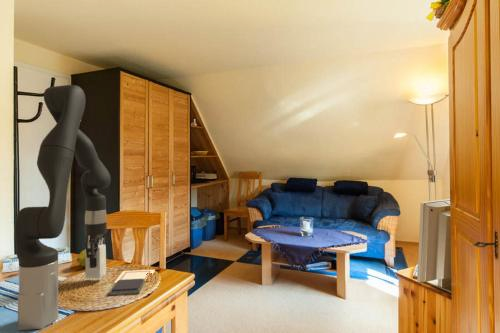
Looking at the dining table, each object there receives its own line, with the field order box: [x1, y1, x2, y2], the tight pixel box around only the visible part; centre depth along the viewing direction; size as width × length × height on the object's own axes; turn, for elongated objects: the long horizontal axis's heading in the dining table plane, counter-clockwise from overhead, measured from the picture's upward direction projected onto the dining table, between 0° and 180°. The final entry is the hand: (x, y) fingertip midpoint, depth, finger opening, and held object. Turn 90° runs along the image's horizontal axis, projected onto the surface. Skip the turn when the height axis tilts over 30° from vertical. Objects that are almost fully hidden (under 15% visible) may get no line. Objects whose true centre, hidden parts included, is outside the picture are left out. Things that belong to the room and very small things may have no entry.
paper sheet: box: [113, 269, 156, 284], centre depth 118 cm, size 12×13×1 cm
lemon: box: [76, 249, 86, 268], centre depth 129 cm, size 11×8×8 cm
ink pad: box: [108, 279, 146, 296], centre depth 107 cm, size 10×10×2 cm
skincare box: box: [84, 244, 107, 279], centre depth 113 cm, size 6×4×12 cm
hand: (95, 264), depth 113 cm, fingers closed on skincare box, 5 cm apart
